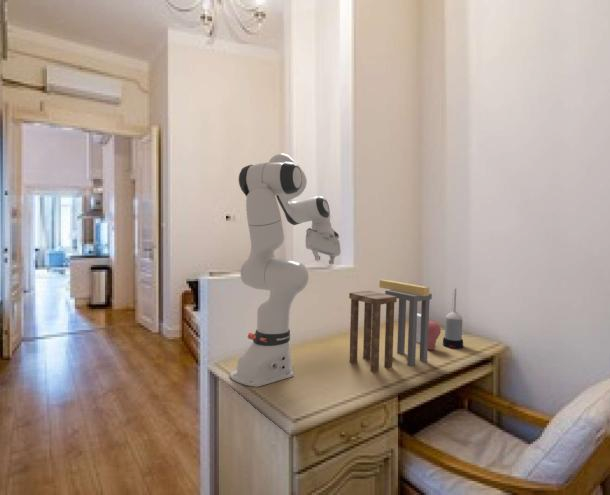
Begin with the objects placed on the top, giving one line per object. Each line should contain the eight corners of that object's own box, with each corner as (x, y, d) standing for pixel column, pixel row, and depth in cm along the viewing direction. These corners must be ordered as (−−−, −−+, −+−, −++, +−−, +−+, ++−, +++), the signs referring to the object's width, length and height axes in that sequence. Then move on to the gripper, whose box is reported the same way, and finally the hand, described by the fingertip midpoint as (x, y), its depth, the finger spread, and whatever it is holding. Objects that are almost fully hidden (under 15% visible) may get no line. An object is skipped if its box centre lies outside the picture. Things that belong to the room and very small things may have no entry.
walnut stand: (347, 361, 146) (349, 292, 144) (366, 356, 152) (368, 290, 150) (374, 373, 135) (376, 299, 133) (394, 367, 140) (396, 296, 139)
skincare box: (426, 342, 172) (427, 315, 171) (420, 343, 170) (421, 316, 169) (415, 338, 177) (416, 312, 176) (409, 340, 175) (410, 313, 174)
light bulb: (440, 353, 157) (442, 324, 157) (422, 351, 159) (423, 322, 158) (438, 347, 164) (439, 319, 163) (421, 346, 166) (422, 318, 165)
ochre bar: (379, 287, 159) (379, 280, 158) (384, 286, 160) (384, 279, 160) (423, 296, 141) (424, 287, 140) (429, 295, 142) (429, 287, 142)
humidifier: (449, 349, 163) (452, 290, 161) (439, 343, 171) (441, 286, 169) (467, 348, 164) (469, 289, 163) (455, 342, 172) (458, 286, 171)
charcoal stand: (383, 355, 153) (385, 290, 151) (400, 351, 159) (402, 288, 157) (411, 367, 141) (414, 296, 140) (429, 361, 147) (431, 293, 146)
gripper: (311, 224, 163) (314, 255, 158) (341, 235, 177) (344, 264, 173) (300, 229, 167) (303, 259, 162) (330, 239, 181) (333, 268, 176)
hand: (324, 262), depth 167 cm, fingers open, 8 cm apart
